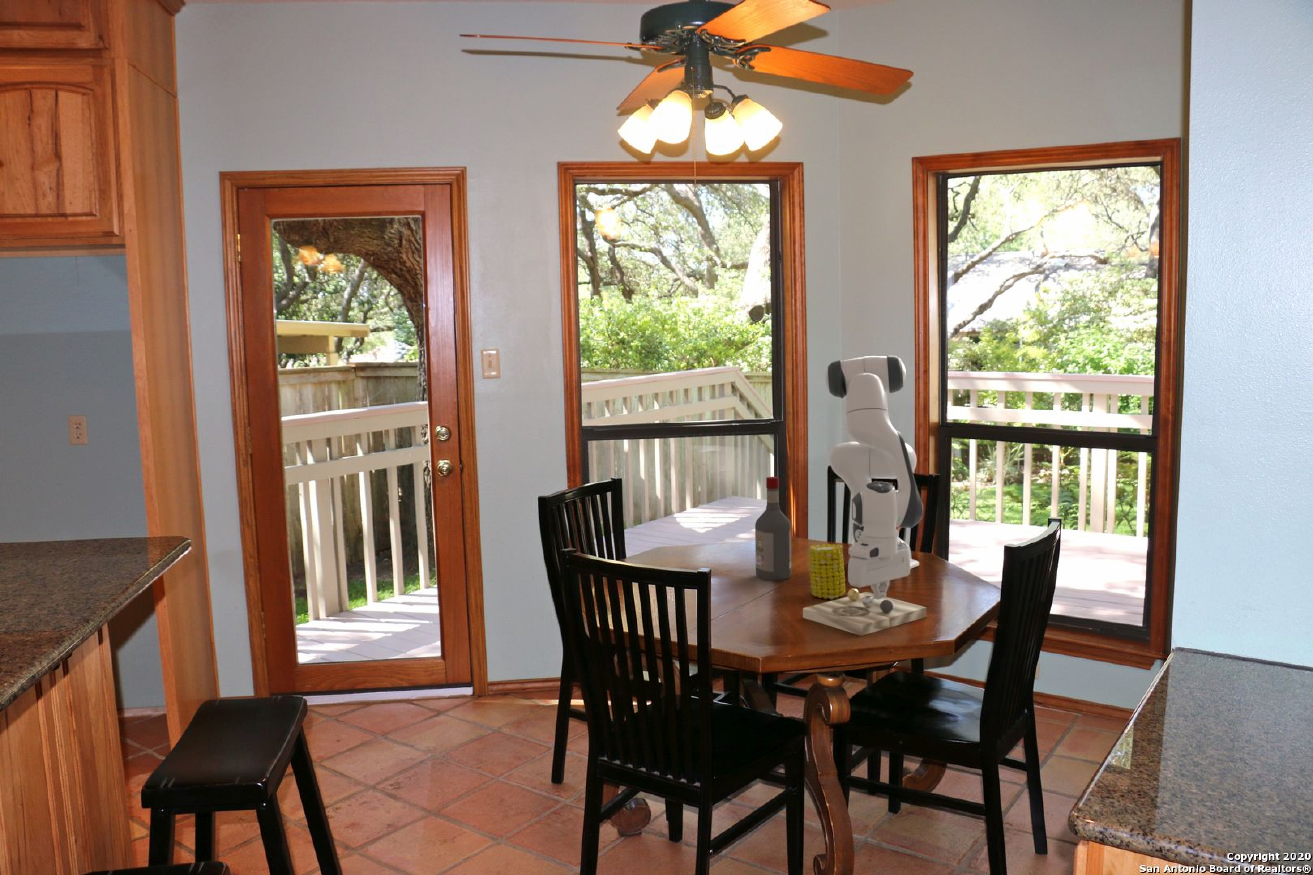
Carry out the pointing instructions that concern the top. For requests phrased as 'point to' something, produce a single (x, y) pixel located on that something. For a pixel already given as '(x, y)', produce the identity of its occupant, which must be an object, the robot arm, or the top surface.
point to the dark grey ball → (886, 606)
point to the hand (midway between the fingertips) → (879, 598)
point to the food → (827, 571)
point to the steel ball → (868, 600)
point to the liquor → (773, 538)
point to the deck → (863, 614)
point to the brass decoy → (853, 594)
